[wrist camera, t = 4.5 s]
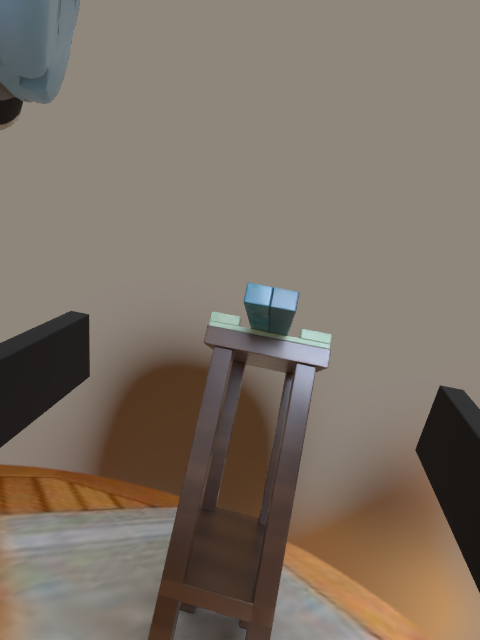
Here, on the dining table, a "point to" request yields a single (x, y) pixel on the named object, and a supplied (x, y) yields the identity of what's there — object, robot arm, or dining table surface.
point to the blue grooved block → (270, 308)
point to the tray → (305, 335)
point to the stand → (205, 481)
